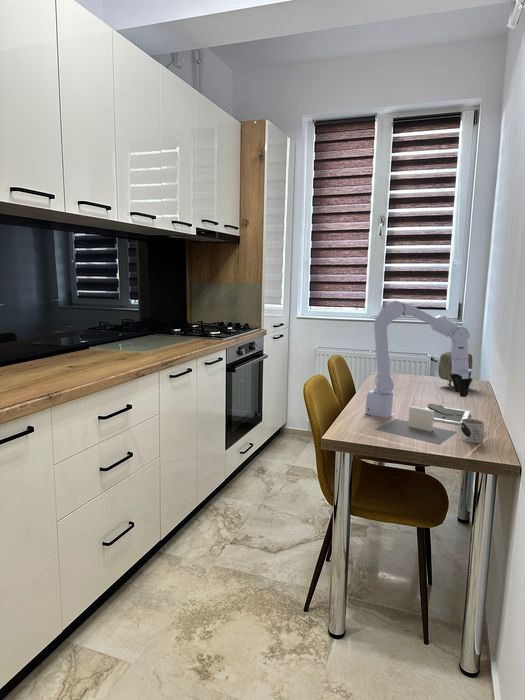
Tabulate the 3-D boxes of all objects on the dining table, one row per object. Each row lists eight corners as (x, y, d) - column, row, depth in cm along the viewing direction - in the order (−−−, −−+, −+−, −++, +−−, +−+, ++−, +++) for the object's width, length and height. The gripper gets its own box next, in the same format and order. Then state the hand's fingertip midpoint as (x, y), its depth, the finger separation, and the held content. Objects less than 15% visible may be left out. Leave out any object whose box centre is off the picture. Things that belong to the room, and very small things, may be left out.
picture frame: (428, 409, 198) (419, 421, 180) (429, 403, 197) (420, 414, 179) (469, 416, 190) (464, 429, 172) (470, 409, 190) (465, 421, 172)
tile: (408, 426, 168) (409, 407, 167) (410, 425, 170) (411, 406, 169) (430, 431, 164) (432, 411, 163) (432, 430, 165) (434, 410, 164)
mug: (456, 437, 160) (458, 418, 159) (475, 438, 160) (477, 418, 159) (471, 448, 150) (473, 427, 149) (491, 448, 150) (493, 428, 149)
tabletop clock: (449, 390, 235) (454, 339, 231) (435, 386, 243) (439, 337, 239) (469, 388, 241) (475, 338, 238) (455, 384, 249) (460, 336, 246)
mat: (374, 430, 163) (374, 429, 163) (395, 420, 177) (396, 418, 177) (439, 446, 150) (439, 444, 150) (456, 433, 164) (457, 432, 164)
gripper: (477, 360, 168) (477, 398, 170) (466, 354, 183) (467, 389, 184) (456, 361, 170) (457, 399, 171) (446, 356, 184) (448, 390, 185)
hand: (461, 394), depth 178 cm, fingers open, 7 cm apart
